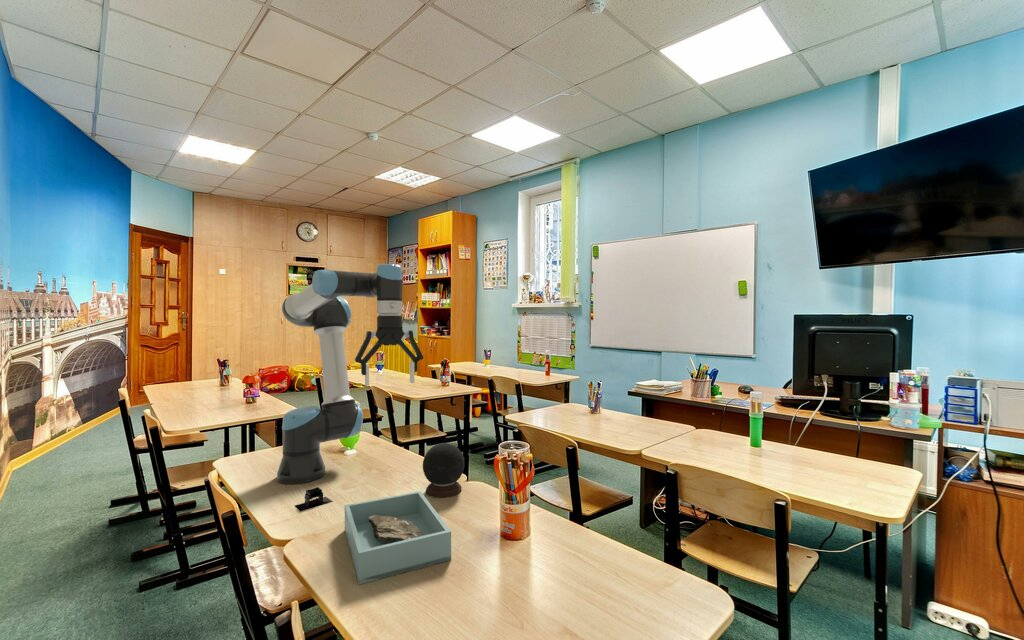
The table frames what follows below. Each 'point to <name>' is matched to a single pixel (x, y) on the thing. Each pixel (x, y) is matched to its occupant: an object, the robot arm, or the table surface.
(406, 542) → the storage tub
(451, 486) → the black globe on stand
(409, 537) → the rock
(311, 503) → the build plate
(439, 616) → the table surface
